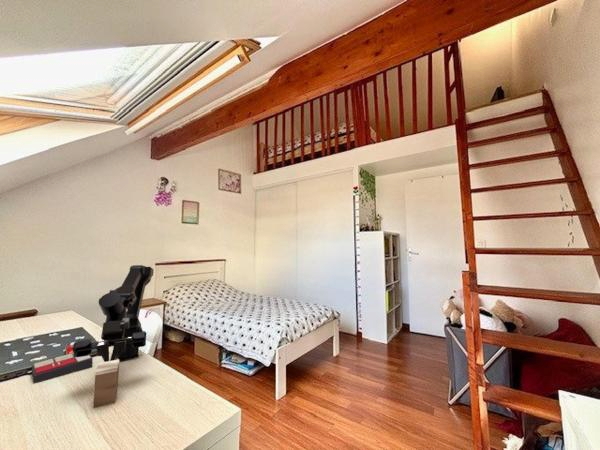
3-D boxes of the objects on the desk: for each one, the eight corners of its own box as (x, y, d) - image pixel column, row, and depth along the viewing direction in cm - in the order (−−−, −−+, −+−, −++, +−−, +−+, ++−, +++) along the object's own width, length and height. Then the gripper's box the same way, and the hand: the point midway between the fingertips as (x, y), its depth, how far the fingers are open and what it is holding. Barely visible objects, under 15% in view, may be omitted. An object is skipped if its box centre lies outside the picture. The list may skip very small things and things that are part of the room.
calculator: (31, 363, 89) (86, 348, 100) (31, 375, 89) (86, 359, 100) (33, 373, 82) (92, 356, 93) (33, 387, 81) (92, 367, 93)
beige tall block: (96, 397, 74) (98, 363, 74) (117, 392, 76) (119, 359, 77) (93, 408, 70) (95, 371, 70) (115, 402, 72) (117, 367, 72)
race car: (85, 359, 100) (85, 348, 100) (66, 363, 96) (67, 352, 96) (80, 349, 109) (81, 340, 109) (63, 353, 105) (64, 343, 105)
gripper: (77, 313, 77) (62, 365, 66) (148, 306, 86) (145, 351, 76) (80, 332, 83) (68, 383, 72) (146, 324, 92) (144, 368, 82)
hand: (108, 370), depth 75 cm, fingers closed, pressing on beige tall block
